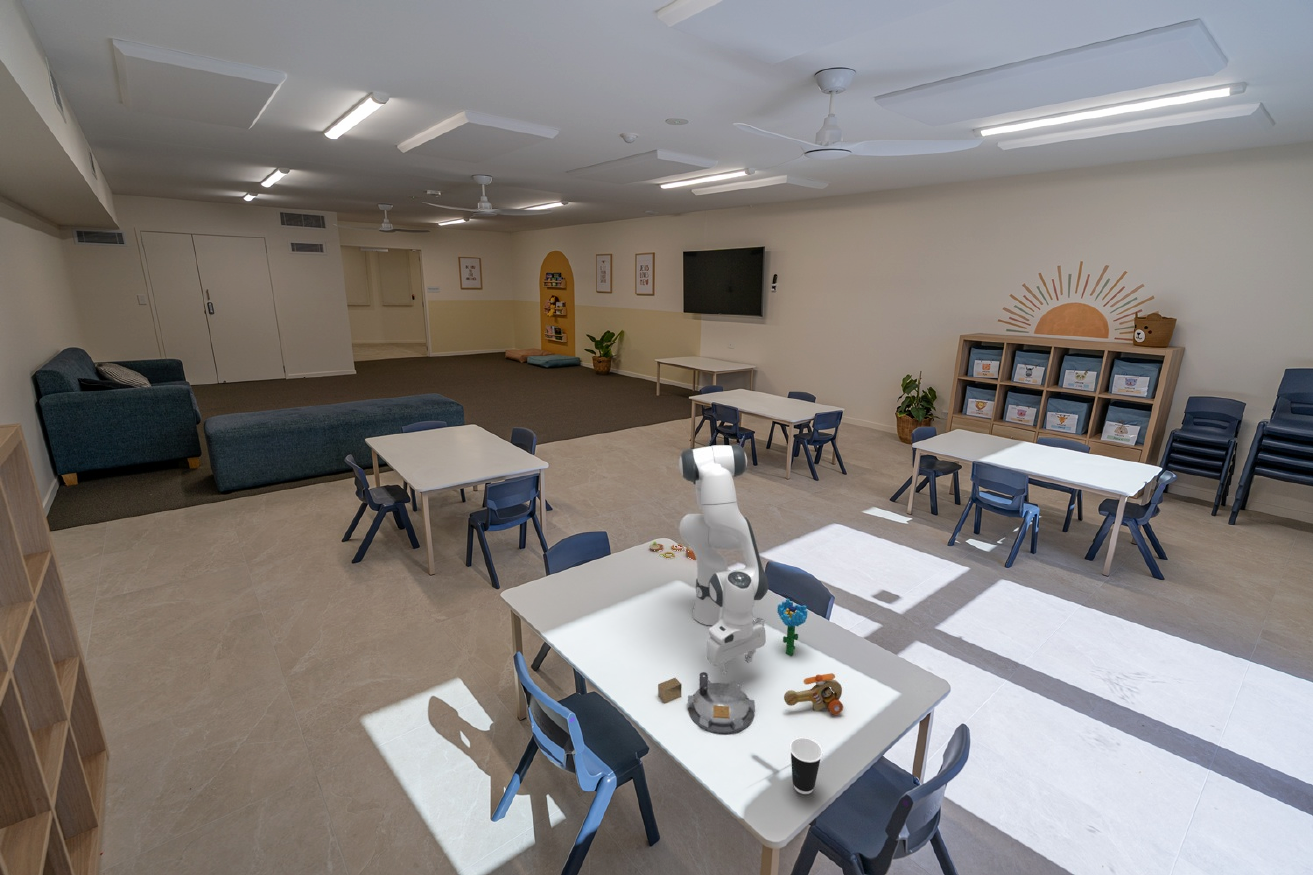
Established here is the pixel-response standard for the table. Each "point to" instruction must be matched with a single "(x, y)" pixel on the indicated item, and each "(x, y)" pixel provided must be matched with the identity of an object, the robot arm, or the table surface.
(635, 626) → the table surface
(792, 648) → the toy flower
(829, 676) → the toy helicopter
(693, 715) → the sprocket base
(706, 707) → the sprocket
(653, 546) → the toy tea set
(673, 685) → the wooden block
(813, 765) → the dixie cup
